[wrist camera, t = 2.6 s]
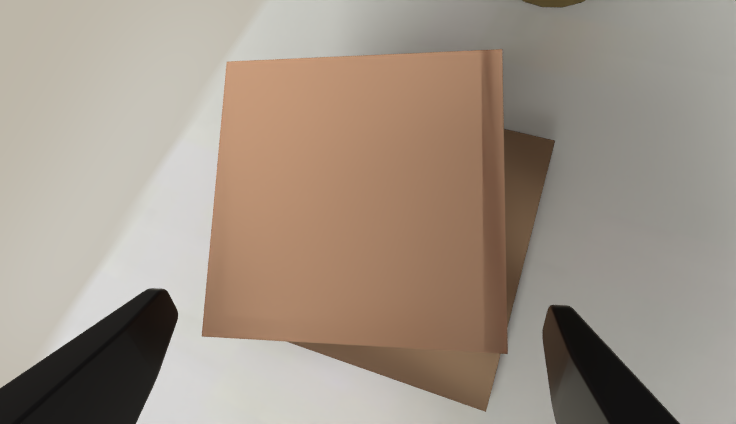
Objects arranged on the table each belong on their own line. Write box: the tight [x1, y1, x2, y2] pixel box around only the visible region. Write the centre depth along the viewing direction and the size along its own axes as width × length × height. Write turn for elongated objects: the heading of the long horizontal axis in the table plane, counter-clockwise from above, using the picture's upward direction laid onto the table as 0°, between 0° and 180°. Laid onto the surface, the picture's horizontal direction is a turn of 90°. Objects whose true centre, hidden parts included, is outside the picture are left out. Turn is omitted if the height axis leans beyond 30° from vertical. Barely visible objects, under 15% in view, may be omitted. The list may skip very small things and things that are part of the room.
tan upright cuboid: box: [202, 49, 508, 354], centre depth 15 cm, size 7×7×9 cm
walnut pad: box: [287, 129, 555, 412], centre depth 20 cm, size 12×12×1 cm
